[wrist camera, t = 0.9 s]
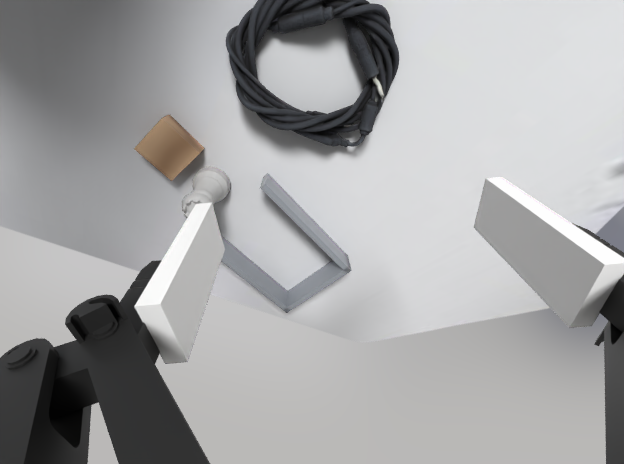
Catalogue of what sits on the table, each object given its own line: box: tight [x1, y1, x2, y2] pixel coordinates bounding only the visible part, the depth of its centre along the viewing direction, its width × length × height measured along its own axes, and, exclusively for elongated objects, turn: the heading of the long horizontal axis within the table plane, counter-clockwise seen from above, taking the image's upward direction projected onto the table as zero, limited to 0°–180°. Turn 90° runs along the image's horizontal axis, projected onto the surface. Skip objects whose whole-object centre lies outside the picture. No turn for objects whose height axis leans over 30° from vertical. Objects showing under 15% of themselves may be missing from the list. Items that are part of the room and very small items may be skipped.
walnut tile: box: [134, 114, 204, 181], centre depth 35 cm, size 5×5×2 cm
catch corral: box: [221, 173, 351, 313], centre depth 42 cm, size 17×12×4 cm
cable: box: [226, 0, 399, 147], centre depth 31 cm, size 17×14×4 cm
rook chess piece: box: [182, 166, 231, 218], centre depth 35 cm, size 4×4×8 cm
